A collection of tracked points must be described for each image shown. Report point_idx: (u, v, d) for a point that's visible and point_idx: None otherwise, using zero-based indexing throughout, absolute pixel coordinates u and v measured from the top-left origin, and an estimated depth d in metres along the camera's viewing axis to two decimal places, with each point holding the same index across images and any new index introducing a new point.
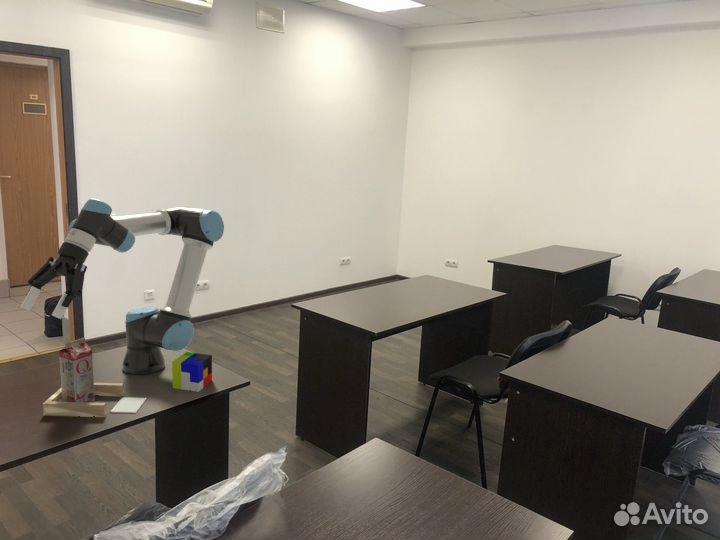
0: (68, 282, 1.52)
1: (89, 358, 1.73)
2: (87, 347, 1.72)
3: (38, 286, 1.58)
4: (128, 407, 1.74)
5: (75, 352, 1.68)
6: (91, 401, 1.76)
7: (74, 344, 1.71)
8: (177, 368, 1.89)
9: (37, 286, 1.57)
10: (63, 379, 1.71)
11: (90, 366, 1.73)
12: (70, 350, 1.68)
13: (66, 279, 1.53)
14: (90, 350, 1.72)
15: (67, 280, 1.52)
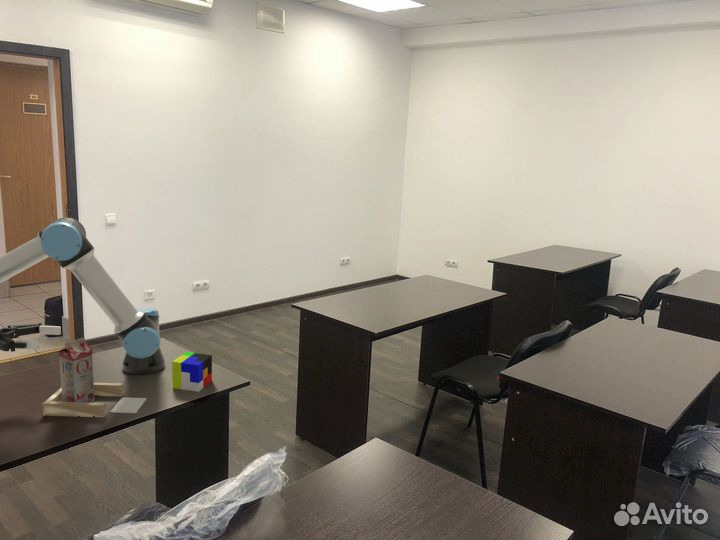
0: None
1: (89, 358, 1.73)
2: (87, 347, 1.72)
3: (38, 327, 1.78)
4: (128, 407, 1.74)
5: (75, 352, 1.68)
6: (91, 401, 1.76)
7: (74, 344, 1.71)
8: (177, 368, 1.89)
9: (38, 328, 1.79)
10: (63, 379, 1.71)
11: (90, 366, 1.73)
12: (70, 350, 1.68)
13: None
14: (90, 350, 1.72)
15: None
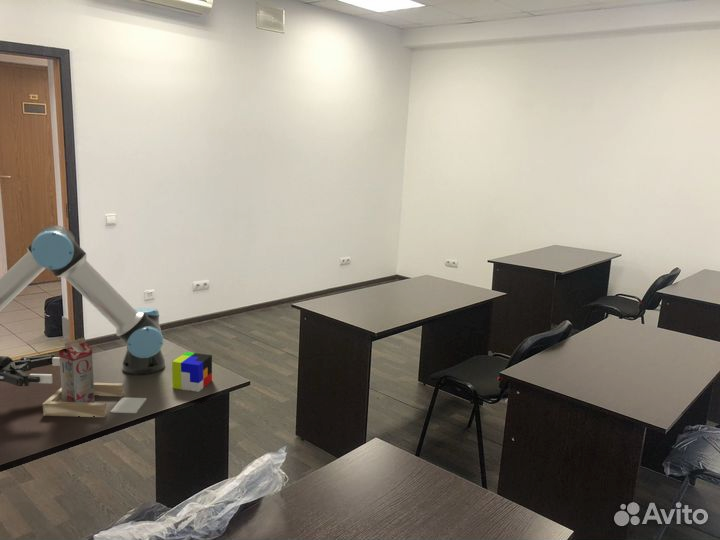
0: None
1: (89, 358, 1.73)
2: (87, 347, 1.72)
3: (50, 359, 1.79)
4: (128, 407, 1.74)
5: (75, 352, 1.68)
6: (91, 401, 1.76)
7: (74, 344, 1.71)
8: (177, 368, 1.89)
9: (51, 360, 1.79)
10: (63, 379, 1.71)
11: (90, 366, 1.73)
12: (70, 350, 1.68)
13: None
14: (90, 350, 1.72)
15: None
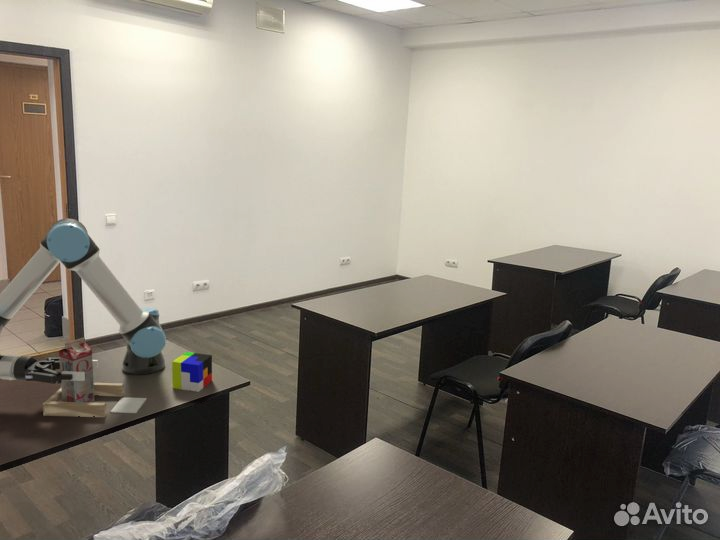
0: (50, 378, 1.68)
1: (89, 358, 1.72)
2: (87, 347, 1.72)
3: None
4: (128, 407, 1.74)
5: (74, 352, 1.68)
6: (91, 401, 1.75)
7: (74, 344, 1.71)
8: (177, 368, 1.89)
9: None
10: None
11: (90, 366, 1.73)
12: (70, 350, 1.68)
13: None
14: (90, 350, 1.72)
15: None
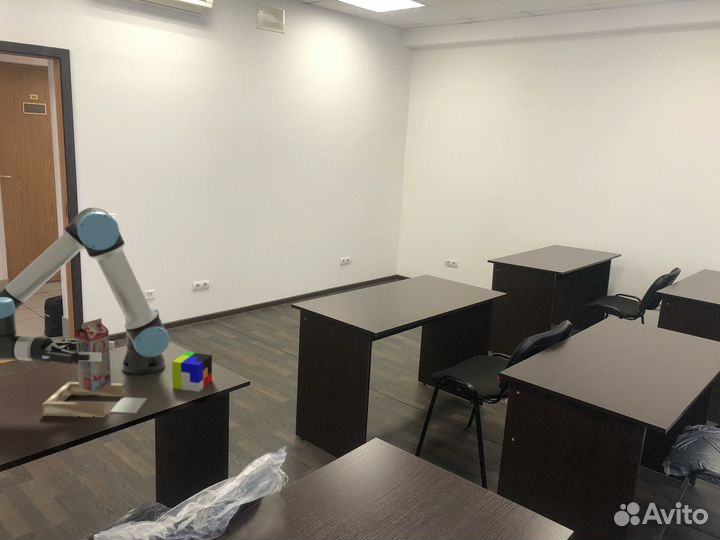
0: (67, 358, 1.66)
1: (106, 339, 1.71)
2: (104, 328, 1.71)
3: None
4: (128, 407, 1.74)
5: (91, 332, 1.66)
6: (107, 383, 1.74)
7: (91, 324, 1.69)
8: (177, 368, 1.89)
9: None
10: None
11: (107, 347, 1.71)
12: (87, 330, 1.66)
13: None
14: (107, 331, 1.71)
15: None
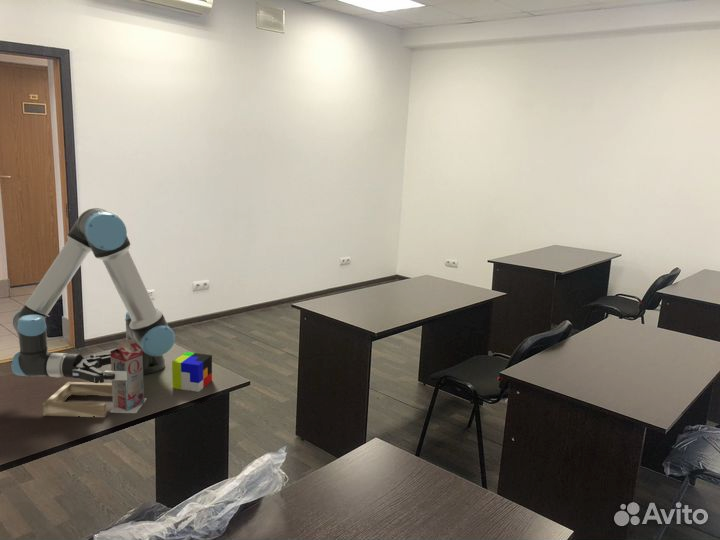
0: None
1: (140, 358, 1.73)
2: (138, 347, 1.73)
3: None
4: None
5: (127, 353, 1.69)
6: (141, 401, 1.76)
7: (125, 345, 1.71)
8: (177, 368, 1.89)
9: None
10: None
11: (140, 366, 1.74)
12: (122, 351, 1.69)
13: None
14: (141, 350, 1.73)
15: None
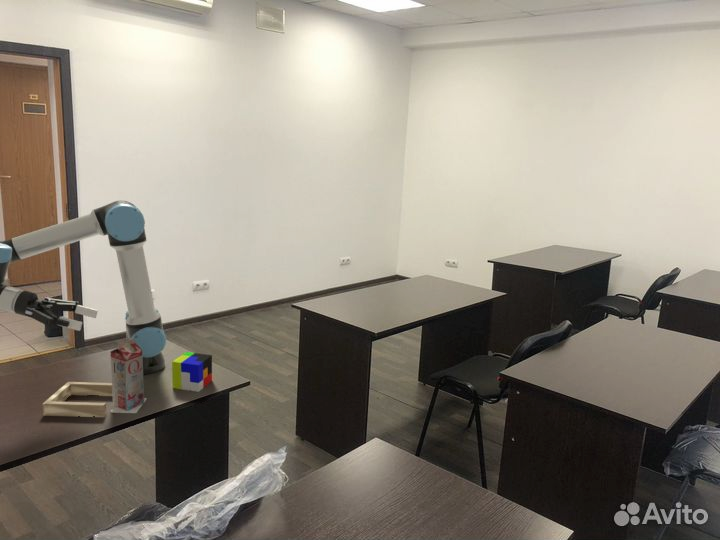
0: (47, 320, 1.65)
1: (140, 358, 1.73)
2: (138, 348, 1.73)
3: (74, 306, 1.78)
4: None
5: (127, 353, 1.69)
6: (141, 401, 1.76)
7: (125, 345, 1.71)
8: (177, 368, 1.89)
9: (74, 307, 1.78)
10: (114, 380, 1.72)
11: (140, 366, 1.74)
12: (122, 351, 1.69)
13: None
14: (141, 350, 1.73)
15: None
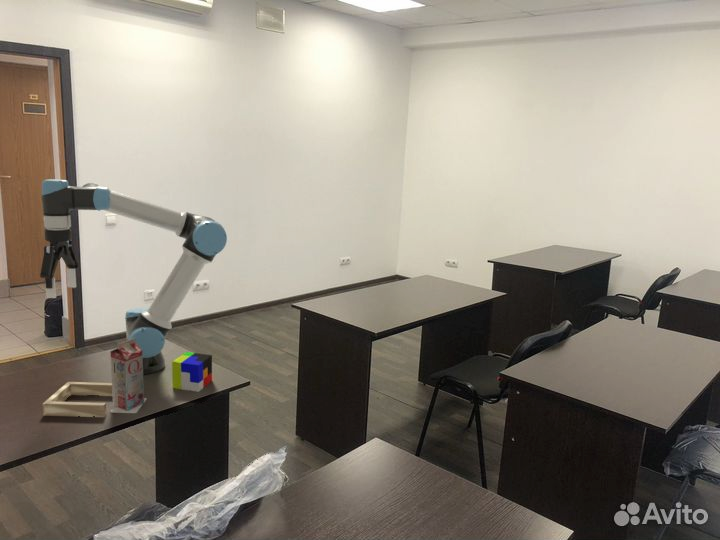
0: None
1: (140, 358, 1.73)
2: (138, 348, 1.73)
3: (72, 266, 1.83)
4: None
5: (127, 353, 1.69)
6: (141, 401, 1.76)
7: (125, 345, 1.71)
8: (177, 368, 1.89)
9: (71, 266, 1.83)
10: (114, 380, 1.72)
11: (140, 366, 1.74)
12: (122, 351, 1.69)
13: None
14: (141, 350, 1.73)
15: None
